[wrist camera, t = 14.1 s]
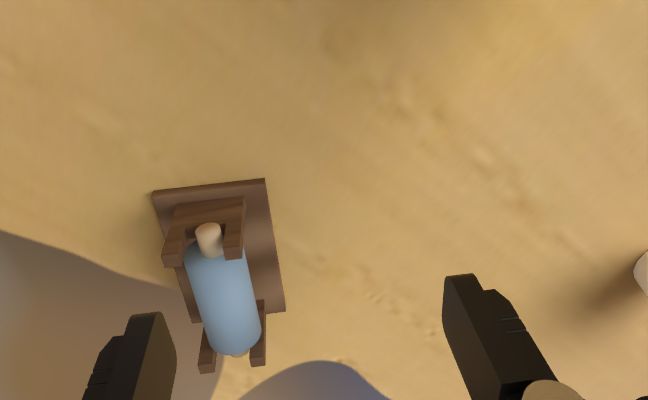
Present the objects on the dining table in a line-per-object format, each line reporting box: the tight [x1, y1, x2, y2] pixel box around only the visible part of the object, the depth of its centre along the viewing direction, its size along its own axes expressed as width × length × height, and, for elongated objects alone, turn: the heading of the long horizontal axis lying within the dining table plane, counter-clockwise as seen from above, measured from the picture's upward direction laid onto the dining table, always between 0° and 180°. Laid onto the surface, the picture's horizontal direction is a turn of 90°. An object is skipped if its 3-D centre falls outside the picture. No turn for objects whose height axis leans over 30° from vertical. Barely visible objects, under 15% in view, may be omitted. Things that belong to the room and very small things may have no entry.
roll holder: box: [152, 178, 286, 374], centre depth 43 cm, size 16×10×8 cm, turn 4°
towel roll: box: [183, 222, 261, 358], centre depth 42 cm, size 14×5×5 cm, turn 5°
